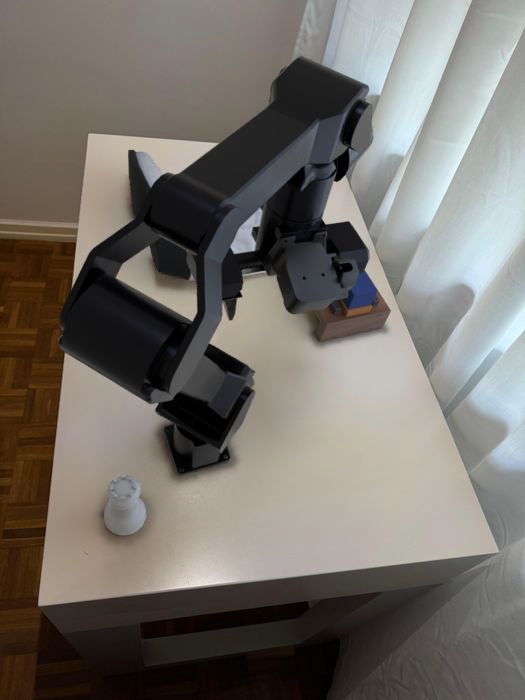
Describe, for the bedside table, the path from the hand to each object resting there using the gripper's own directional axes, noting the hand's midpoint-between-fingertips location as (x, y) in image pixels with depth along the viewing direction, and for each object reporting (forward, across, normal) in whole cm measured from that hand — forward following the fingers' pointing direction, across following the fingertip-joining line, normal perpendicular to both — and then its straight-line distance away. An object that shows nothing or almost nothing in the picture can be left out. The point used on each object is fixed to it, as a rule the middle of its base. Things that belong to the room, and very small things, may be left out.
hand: (266, 310), depth 66 cm
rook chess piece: (+13, -20, -14) cm, 28 cm away
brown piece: (+13, +17, +8) cm, 23 cm away
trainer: (+9, +17, +8) cm, 21 cm away
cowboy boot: (+13, +5, +29) cm, 32 cm away
